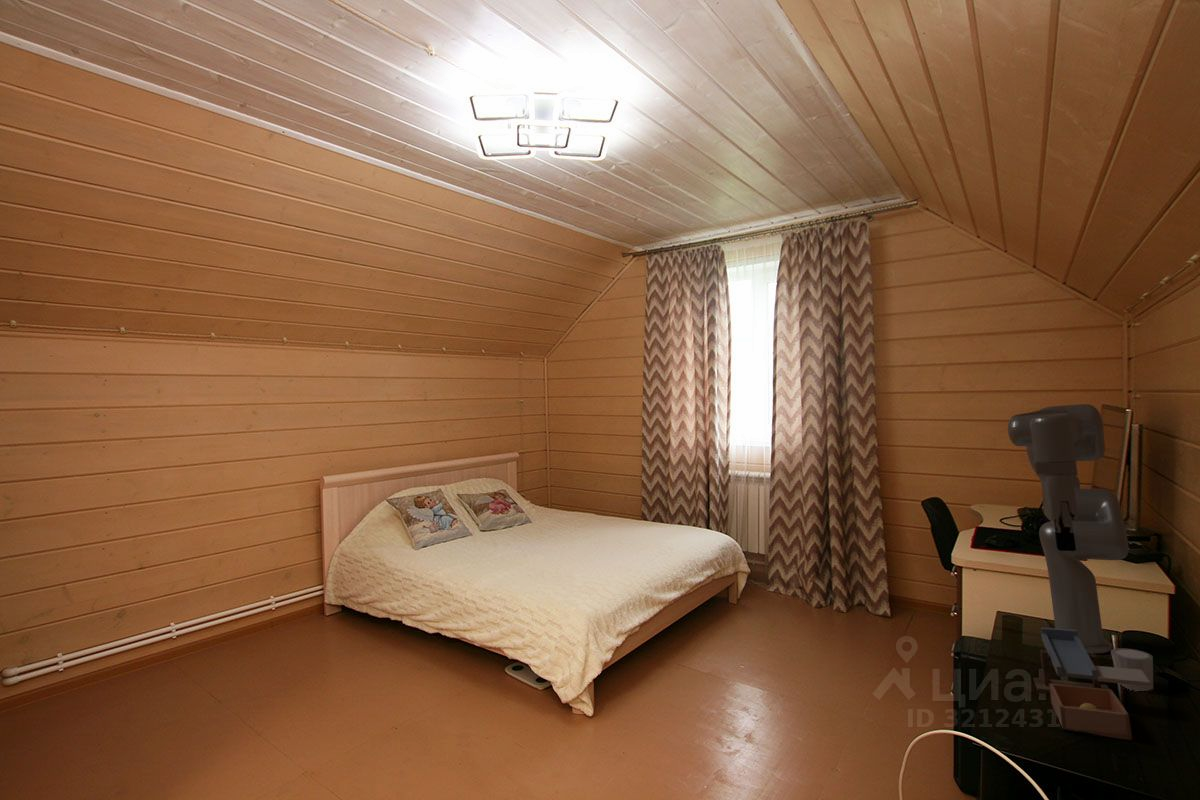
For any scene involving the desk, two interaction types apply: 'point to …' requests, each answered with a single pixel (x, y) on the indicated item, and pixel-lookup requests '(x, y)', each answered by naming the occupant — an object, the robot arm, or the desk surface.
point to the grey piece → (1083, 660)
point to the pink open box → (1090, 711)
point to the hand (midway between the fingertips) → (1066, 549)
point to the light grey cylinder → (1134, 665)
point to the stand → (1043, 684)
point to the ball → (1088, 706)
